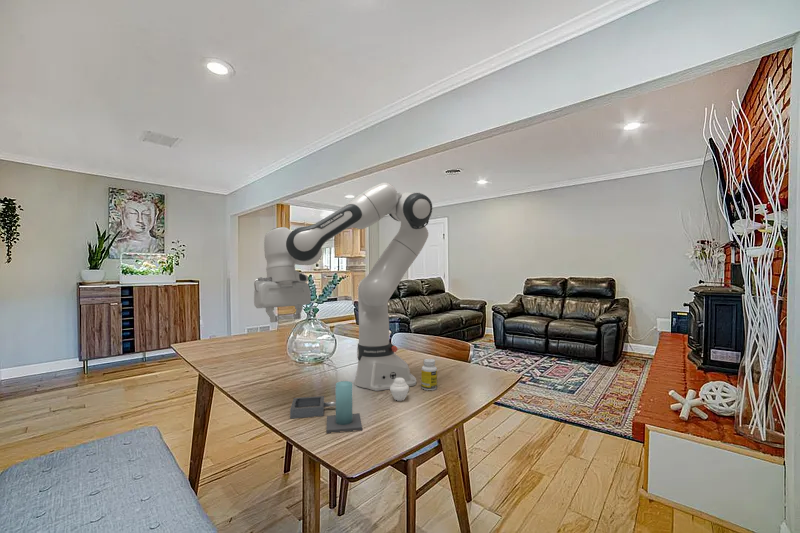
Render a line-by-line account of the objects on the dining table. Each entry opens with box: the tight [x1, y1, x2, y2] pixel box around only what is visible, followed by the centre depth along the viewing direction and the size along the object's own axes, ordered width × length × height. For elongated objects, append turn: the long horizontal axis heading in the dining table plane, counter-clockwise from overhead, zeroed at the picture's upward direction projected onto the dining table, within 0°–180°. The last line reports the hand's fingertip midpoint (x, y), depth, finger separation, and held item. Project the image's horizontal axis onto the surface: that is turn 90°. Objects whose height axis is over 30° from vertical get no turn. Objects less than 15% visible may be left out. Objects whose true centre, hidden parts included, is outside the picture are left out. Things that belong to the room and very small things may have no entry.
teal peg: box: [335, 380, 353, 425], centre depth 95 cm, size 4×4×10 cm
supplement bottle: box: [420, 358, 438, 391], centre depth 123 cm, size 5×5×10 cm
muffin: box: [389, 377, 410, 402], centre depth 113 cm, size 6×6×7 cm
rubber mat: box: [325, 413, 363, 434], centre depth 94 cm, size 9×9×1 cm
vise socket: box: [289, 395, 336, 420], centre depth 104 cm, size 16×9×2 cm, turn 101°
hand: (286, 320), depth 112 cm, fingers open, 8 cm apart
